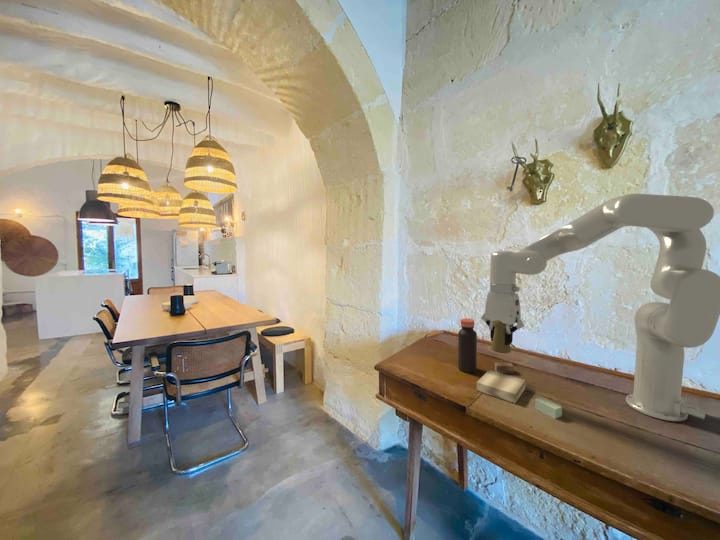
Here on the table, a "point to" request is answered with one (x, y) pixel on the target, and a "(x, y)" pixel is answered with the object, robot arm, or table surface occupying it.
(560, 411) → the sage brick
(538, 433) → the table surface
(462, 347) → the bottle
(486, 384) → the beech board
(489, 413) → the table surface
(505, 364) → the walnut brick
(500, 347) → the cork
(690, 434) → the table surface
